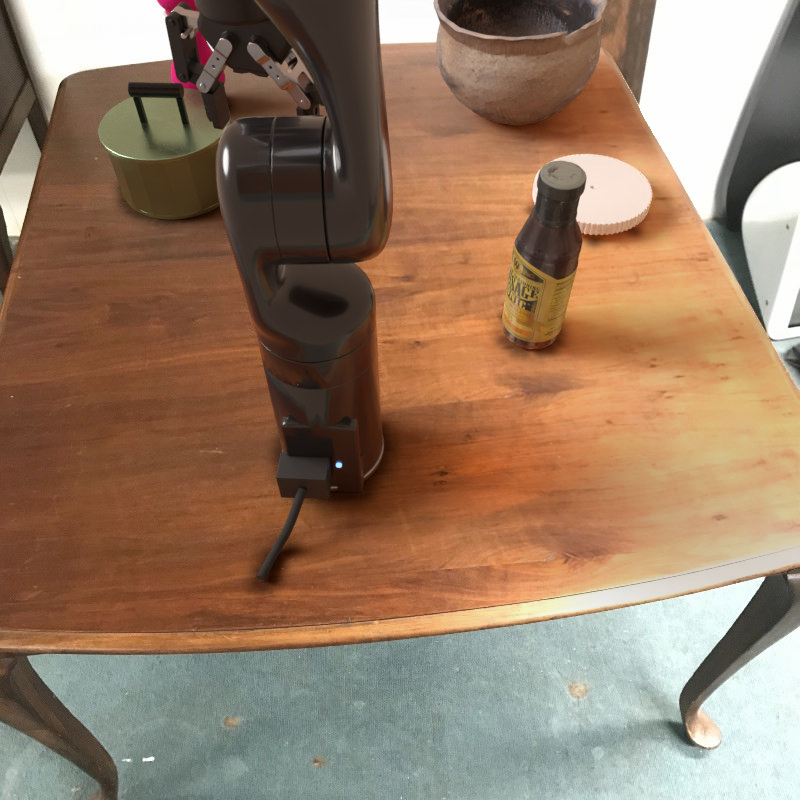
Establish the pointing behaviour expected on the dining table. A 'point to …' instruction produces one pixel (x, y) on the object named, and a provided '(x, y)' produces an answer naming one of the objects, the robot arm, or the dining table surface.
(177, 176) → the pot
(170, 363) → the dining table surface
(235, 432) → the dining table surface
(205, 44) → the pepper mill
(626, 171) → the plastic lid
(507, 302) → the sauce bottle
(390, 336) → the dining table surface
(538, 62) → the ceramic bowl
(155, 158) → the pot lid
